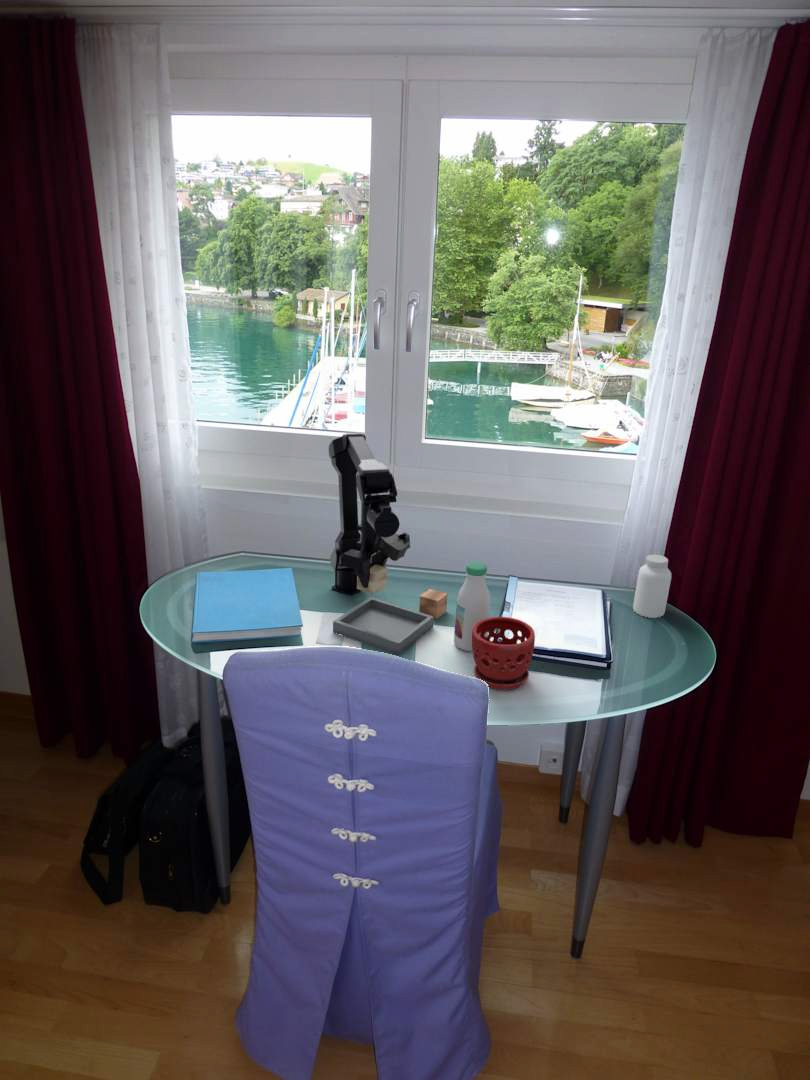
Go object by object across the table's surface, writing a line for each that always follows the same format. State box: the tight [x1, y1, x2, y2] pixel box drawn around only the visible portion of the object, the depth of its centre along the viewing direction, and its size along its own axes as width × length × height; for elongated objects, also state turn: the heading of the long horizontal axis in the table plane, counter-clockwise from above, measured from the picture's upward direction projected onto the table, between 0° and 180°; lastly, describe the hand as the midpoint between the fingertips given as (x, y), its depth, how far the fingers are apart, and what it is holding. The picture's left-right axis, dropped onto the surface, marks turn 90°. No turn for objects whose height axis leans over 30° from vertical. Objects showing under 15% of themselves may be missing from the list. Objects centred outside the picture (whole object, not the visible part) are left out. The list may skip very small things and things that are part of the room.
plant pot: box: [472, 616, 536, 690], centre depth 173 cm, size 13×13×12 cm
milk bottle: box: [453, 561, 491, 653], centre depth 185 cm, size 8×8×20 cm
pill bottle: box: [632, 554, 672, 619], centre depth 206 cm, size 8×8×15 cm
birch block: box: [357, 564, 388, 595], centre depth 191 cm, size 5×5×5 cm
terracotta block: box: [418, 588, 448, 620], centre depth 202 cm, size 5×5×5 cm
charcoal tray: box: [332, 596, 435, 656], centre depth 193 cm, size 18×16×3 cm
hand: (371, 583), depth 191 cm, fingers closed on birch block, 5 cm apart
